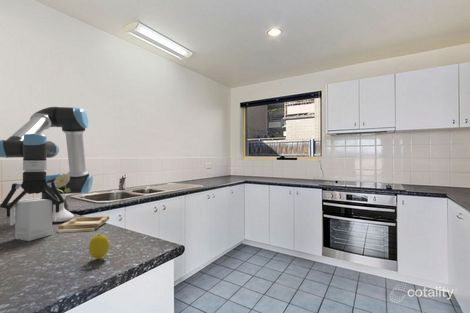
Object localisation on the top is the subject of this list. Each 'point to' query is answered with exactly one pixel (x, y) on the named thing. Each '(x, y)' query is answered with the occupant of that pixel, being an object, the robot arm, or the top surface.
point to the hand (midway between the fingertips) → (34, 222)
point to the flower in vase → (63, 213)
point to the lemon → (98, 246)
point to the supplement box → (33, 219)
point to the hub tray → (82, 224)
